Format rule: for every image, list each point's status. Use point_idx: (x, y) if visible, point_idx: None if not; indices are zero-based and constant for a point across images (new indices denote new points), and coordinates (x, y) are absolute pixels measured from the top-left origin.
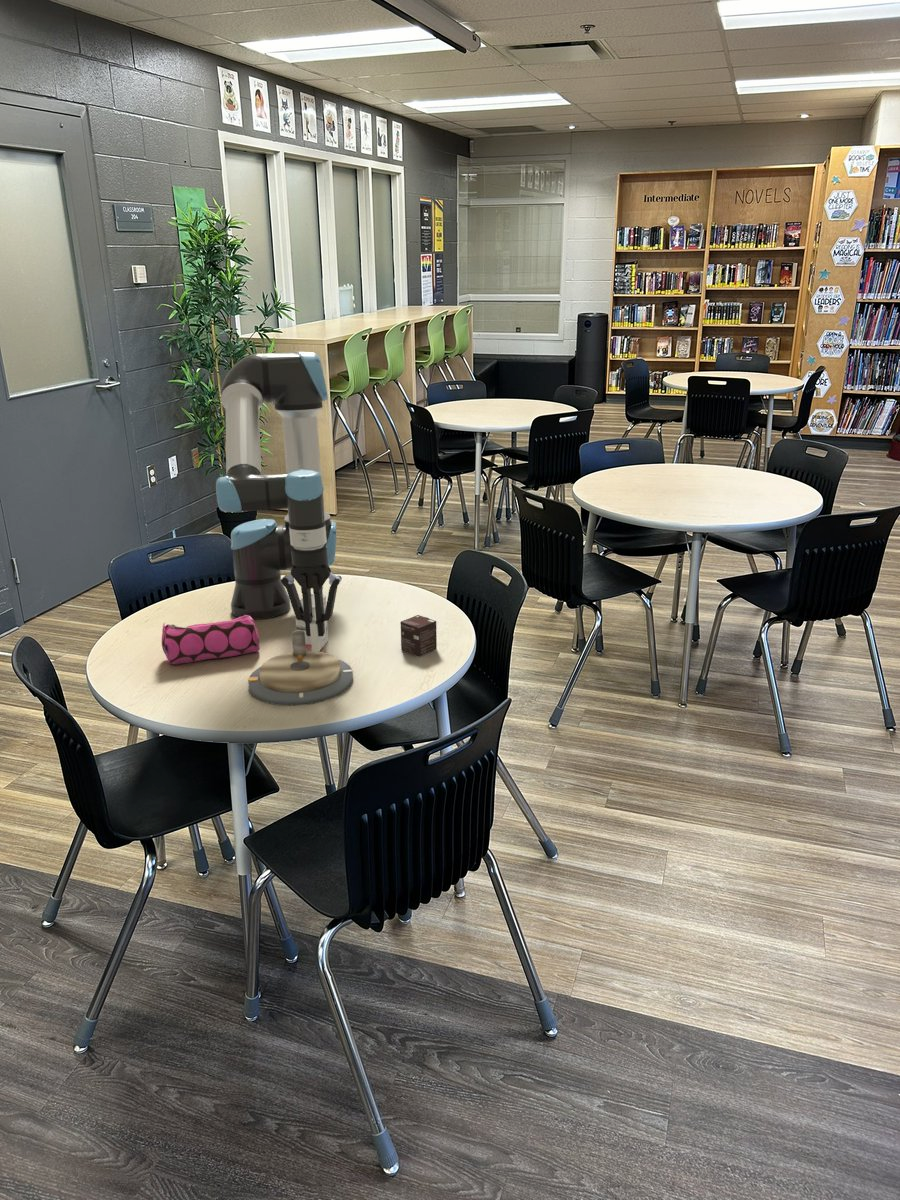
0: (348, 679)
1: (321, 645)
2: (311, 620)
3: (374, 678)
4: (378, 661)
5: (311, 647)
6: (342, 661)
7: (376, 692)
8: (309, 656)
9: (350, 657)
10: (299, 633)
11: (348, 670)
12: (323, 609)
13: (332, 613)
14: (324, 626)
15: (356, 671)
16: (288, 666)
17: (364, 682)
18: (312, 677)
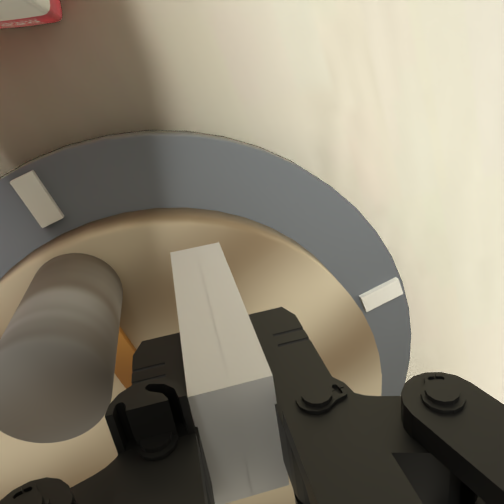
0: (403, 360)
1: (221, 250)
2: (205, 463)
3: (476, 246)
4: (471, 44)
5: (18, 21)
6: (319, 183)
7: (497, 353)
8: (161, 305)
9: (303, 16)
10: (69, 401)
11: (387, 292)
12: (409, 497)
13: (489, 399)
14: (314, 349)
15: (385, 199)
16: (113, 450)
17: (442, 293)
18: (292, 495)
